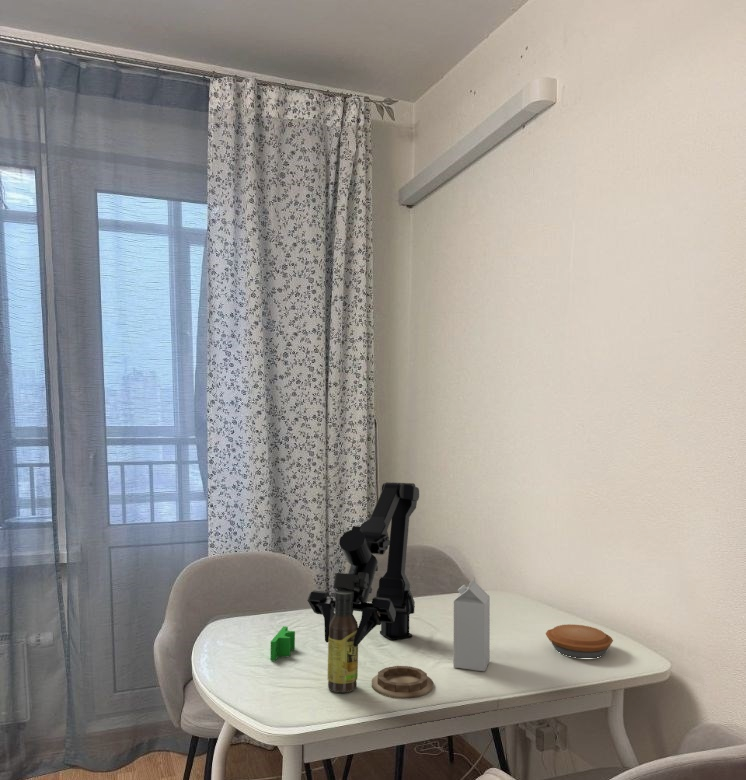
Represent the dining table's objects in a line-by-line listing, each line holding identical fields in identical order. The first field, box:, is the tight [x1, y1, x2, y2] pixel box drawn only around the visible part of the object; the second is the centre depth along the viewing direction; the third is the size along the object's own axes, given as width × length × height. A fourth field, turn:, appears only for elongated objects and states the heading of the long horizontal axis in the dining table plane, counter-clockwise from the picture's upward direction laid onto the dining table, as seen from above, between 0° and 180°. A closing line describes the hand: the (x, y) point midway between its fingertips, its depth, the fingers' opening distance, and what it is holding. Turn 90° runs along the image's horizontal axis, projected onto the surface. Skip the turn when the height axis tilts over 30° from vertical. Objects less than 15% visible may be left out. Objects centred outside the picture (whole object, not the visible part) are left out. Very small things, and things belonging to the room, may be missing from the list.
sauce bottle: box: [327, 589, 359, 693], centre depth 136 cm, size 6×6×20 cm
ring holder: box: [371, 665, 434, 699], centre depth 138 cm, size 13×13×2 cm
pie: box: [545, 623, 614, 659], centre depth 159 cm, size 16×16×5 cm
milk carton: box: [452, 577, 491, 672], centre depth 150 cm, size 7×7×19 cm
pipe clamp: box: [269, 626, 296, 661], centre depth 156 cm, size 11×4×5 cm, turn 173°
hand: (340, 643), depth 135 cm, fingers closed on sauce bottle, 6 cm apart
